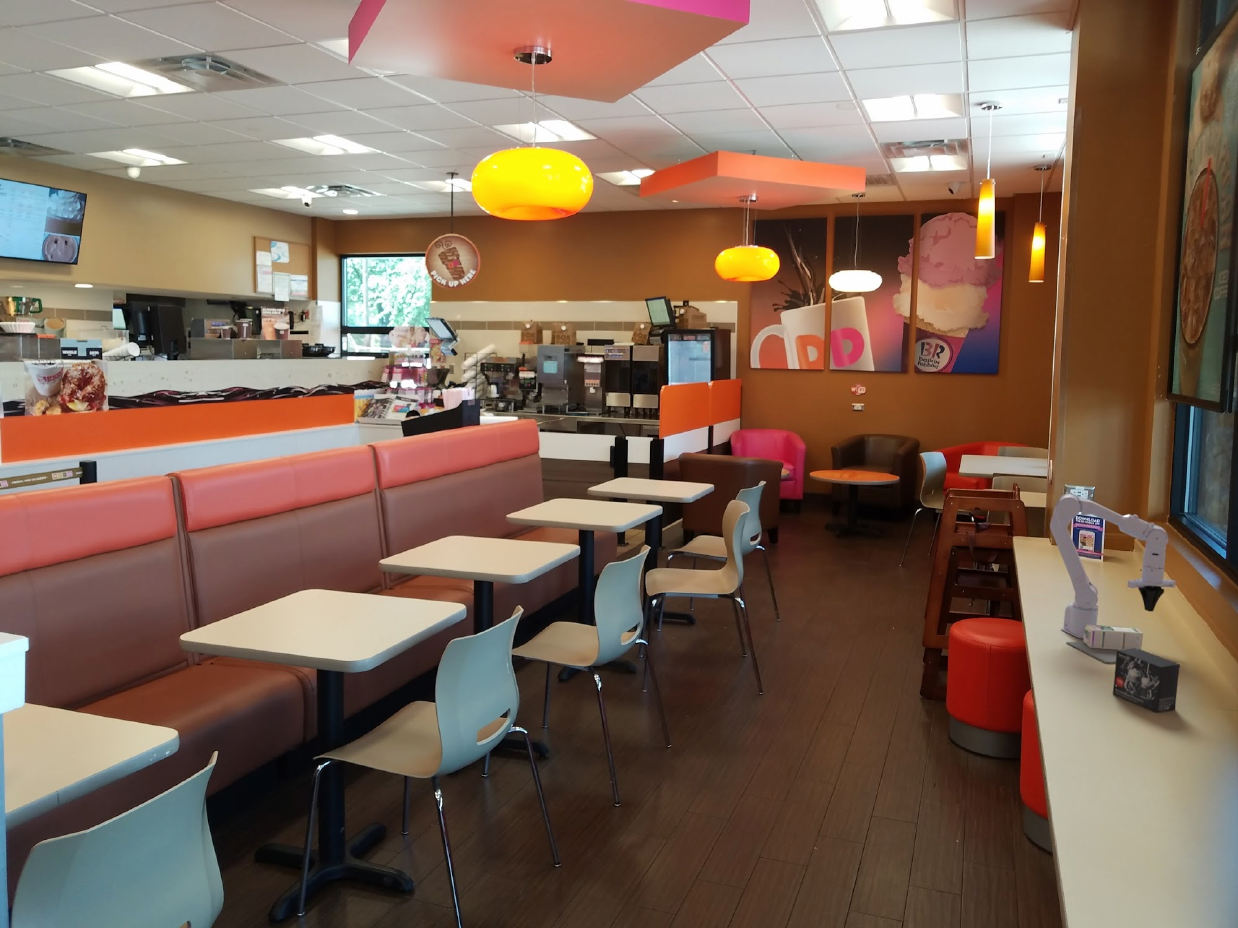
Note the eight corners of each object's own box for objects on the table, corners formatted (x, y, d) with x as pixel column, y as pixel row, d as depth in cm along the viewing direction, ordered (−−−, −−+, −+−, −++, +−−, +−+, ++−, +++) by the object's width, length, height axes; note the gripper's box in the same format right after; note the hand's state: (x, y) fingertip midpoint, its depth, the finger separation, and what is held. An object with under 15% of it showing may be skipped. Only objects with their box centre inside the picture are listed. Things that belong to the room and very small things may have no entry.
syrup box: (1143, 632, 276) (1090, 628, 279) (1141, 652, 277) (1088, 647, 279) (1136, 627, 282) (1084, 623, 284) (1134, 646, 283) (1082, 642, 285)
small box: (1111, 694, 243) (1115, 649, 242) (1130, 691, 246) (1135, 647, 244) (1156, 713, 231) (1160, 666, 229) (1176, 710, 233) (1181, 663, 232)
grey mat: (1066, 643, 285) (1066, 641, 285) (1114, 642, 287) (1114, 640, 287) (1105, 663, 267) (1105, 661, 267) (1156, 662, 270) (1156, 660, 270)
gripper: (1140, 569, 279) (1136, 614, 281) (1184, 569, 281) (1180, 613, 283) (1124, 564, 286) (1120, 607, 287) (1167, 563, 288) (1163, 607, 290)
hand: (1148, 610), depth 286 cm, fingers closed
